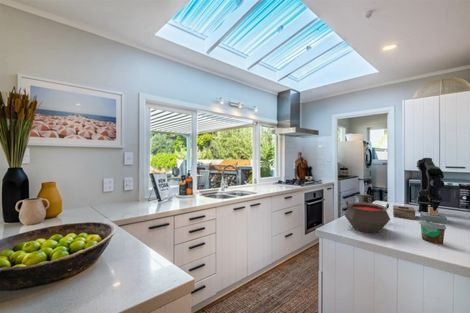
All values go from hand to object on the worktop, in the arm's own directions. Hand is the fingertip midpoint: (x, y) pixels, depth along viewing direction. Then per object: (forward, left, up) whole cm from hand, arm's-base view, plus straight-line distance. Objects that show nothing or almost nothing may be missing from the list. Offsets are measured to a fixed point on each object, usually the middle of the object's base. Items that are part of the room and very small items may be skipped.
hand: (433, 209), depth 153 cm
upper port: (0, -16, -7) cm, 18 cm away
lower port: (0, 0, -7) cm, 7 cm away
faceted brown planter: (+46, -37, -8) cm, 59 cm away
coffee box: (+21, -40, -8) cm, 46 cm away
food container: (+49, -9, -8) cm, 50 cm away
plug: (0, 0, -6) cm, 6 cm away
